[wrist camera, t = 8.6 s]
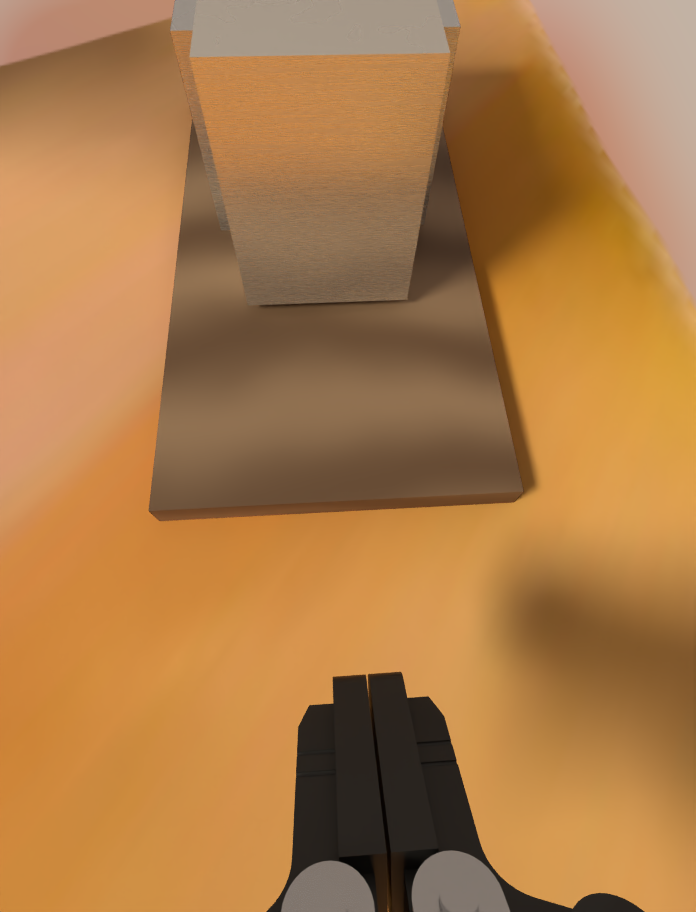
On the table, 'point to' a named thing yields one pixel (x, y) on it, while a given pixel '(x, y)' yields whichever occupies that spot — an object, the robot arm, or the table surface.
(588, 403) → the table surface
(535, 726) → the table surface
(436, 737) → the robot arm
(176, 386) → the base plate
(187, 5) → the bearing block
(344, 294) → the brushed metal slider block
